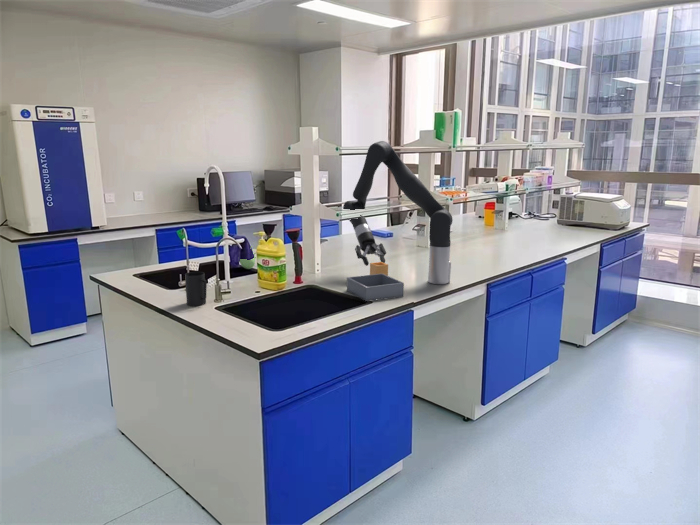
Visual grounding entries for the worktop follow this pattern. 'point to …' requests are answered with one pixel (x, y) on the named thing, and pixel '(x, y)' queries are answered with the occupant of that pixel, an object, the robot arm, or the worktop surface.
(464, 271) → the worktop surface
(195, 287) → the black tapered tumbler
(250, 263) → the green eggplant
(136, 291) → the worktop surface
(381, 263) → the tan cardboard box
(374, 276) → the big crate
